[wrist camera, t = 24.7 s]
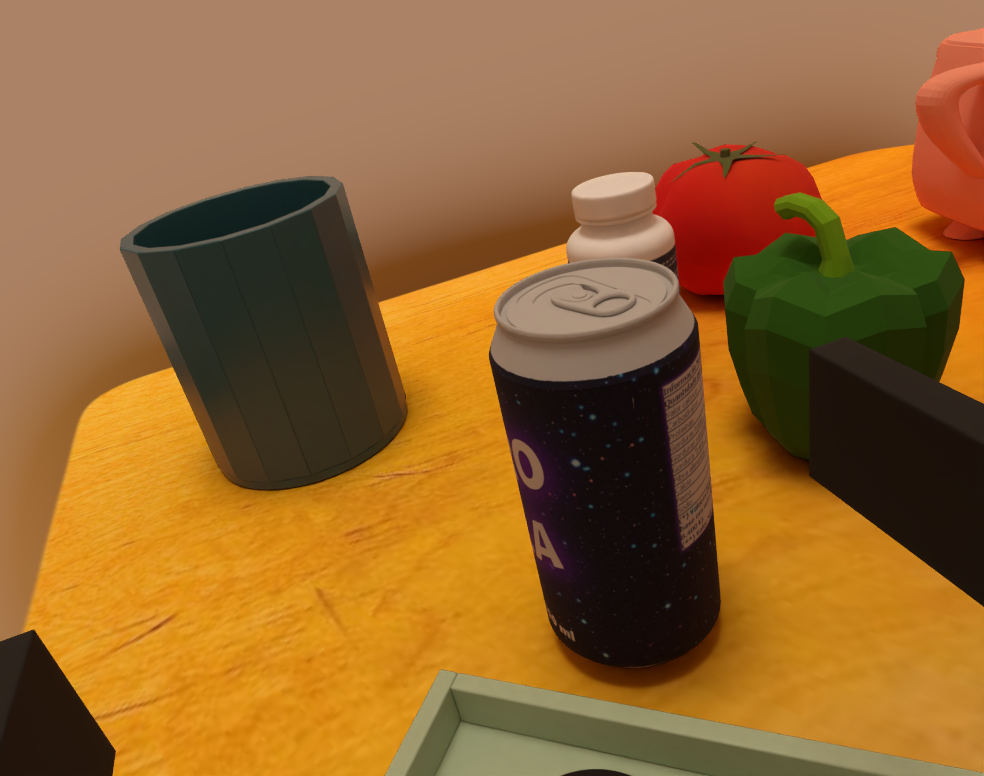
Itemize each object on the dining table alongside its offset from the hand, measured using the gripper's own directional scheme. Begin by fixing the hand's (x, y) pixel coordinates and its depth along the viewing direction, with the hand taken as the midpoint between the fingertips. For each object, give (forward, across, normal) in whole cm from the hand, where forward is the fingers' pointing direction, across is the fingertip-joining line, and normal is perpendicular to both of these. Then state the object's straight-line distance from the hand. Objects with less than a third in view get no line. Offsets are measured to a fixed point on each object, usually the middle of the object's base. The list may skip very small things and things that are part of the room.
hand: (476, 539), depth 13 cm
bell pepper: (+13, -18, +12) cm, 25 cm away
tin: (+28, +3, +12) cm, 31 cm away
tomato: (+29, -24, +12) cm, 39 cm away
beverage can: (+8, -6, +12) cm, 15 cm away
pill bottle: (+24, -14, +12) cm, 30 cm away
